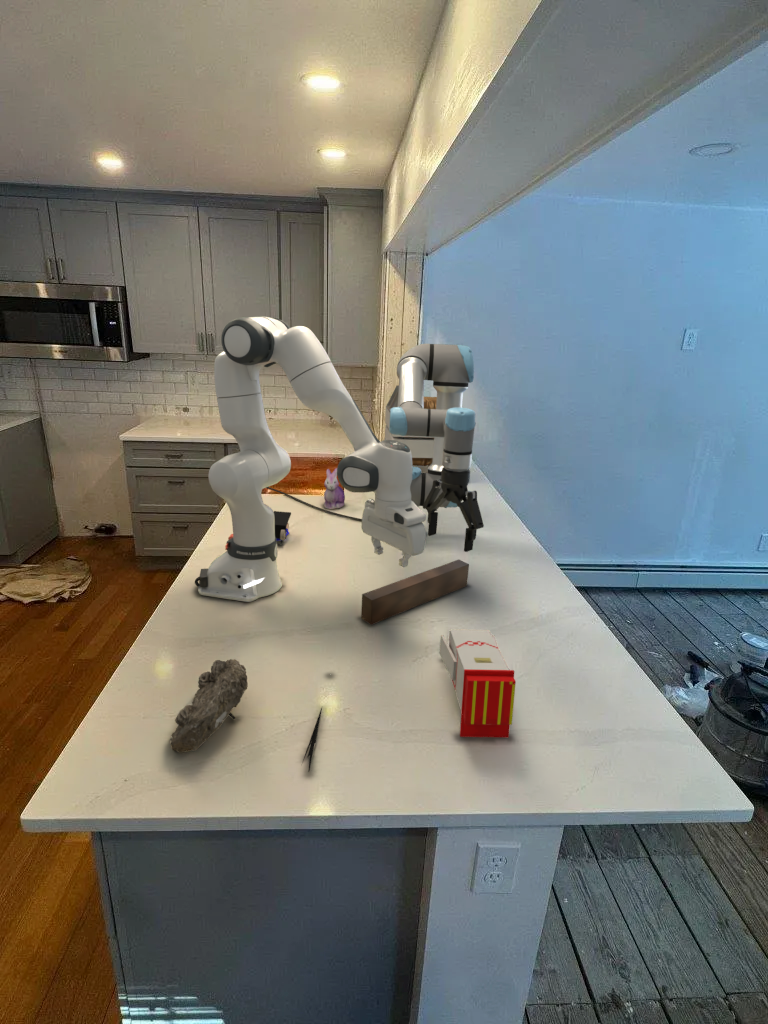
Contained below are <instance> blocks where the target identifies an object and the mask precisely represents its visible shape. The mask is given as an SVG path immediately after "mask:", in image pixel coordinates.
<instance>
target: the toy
mask: <svg viewBox="0 0 768 1024" xmlns="http://www.w3.org/2000/svg"><path fill="white" fill-rule="evenodd" d="M438 654H439V656H440V658H441V660H442V662H443V665H444V666H445V668H446V671H447V673H448V675H449V677H450V681H451V683H452V685H453V689H454V690H455V695H456V698H457V702H458V705H459V708H460V726H459V737H460V738H509V737H510V728H511V727H510V726H512V725H513V717H514V706H515V705H514V704H515V693H516V684H517V683H516V679H515V670H514V669H510V667H509V666H508V663H507V662H506V660H505V658H504V655H503V654H502V652H501V650H500V648H499V644H498V642H497V638H496V635H495V634H492V632H491V631H490V629H467V628H466V629H465V628H463V629H461V628H460V629H459V628H450V629H449V631H448V641H447V639H446V638H445V636H444V634H443V635H442V634H441V635H440V641H439V651H438Z"/></svg>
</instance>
